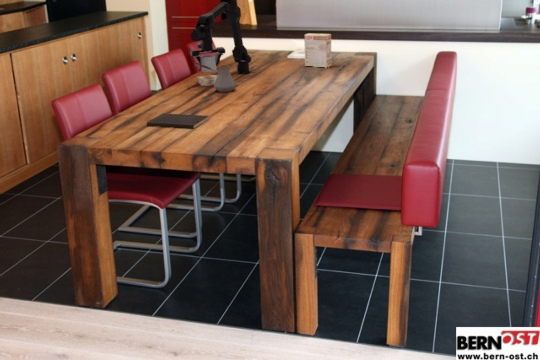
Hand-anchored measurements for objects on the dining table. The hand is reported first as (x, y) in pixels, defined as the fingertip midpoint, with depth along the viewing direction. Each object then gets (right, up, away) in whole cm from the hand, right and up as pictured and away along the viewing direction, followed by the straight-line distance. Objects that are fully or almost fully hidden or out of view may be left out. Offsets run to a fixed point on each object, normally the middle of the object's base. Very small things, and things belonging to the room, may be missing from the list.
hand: (208, 67), depth 389 cm
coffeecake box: (+63, +6, +36) cm, 73 cm away
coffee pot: (+5, -15, -15) cm, 22 cm away
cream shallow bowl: (0, -8, +3) cm, 9 cm away
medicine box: (0, -3, +1) cm, 3 cm away
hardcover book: (-7, -38, -75) cm, 84 cm away
